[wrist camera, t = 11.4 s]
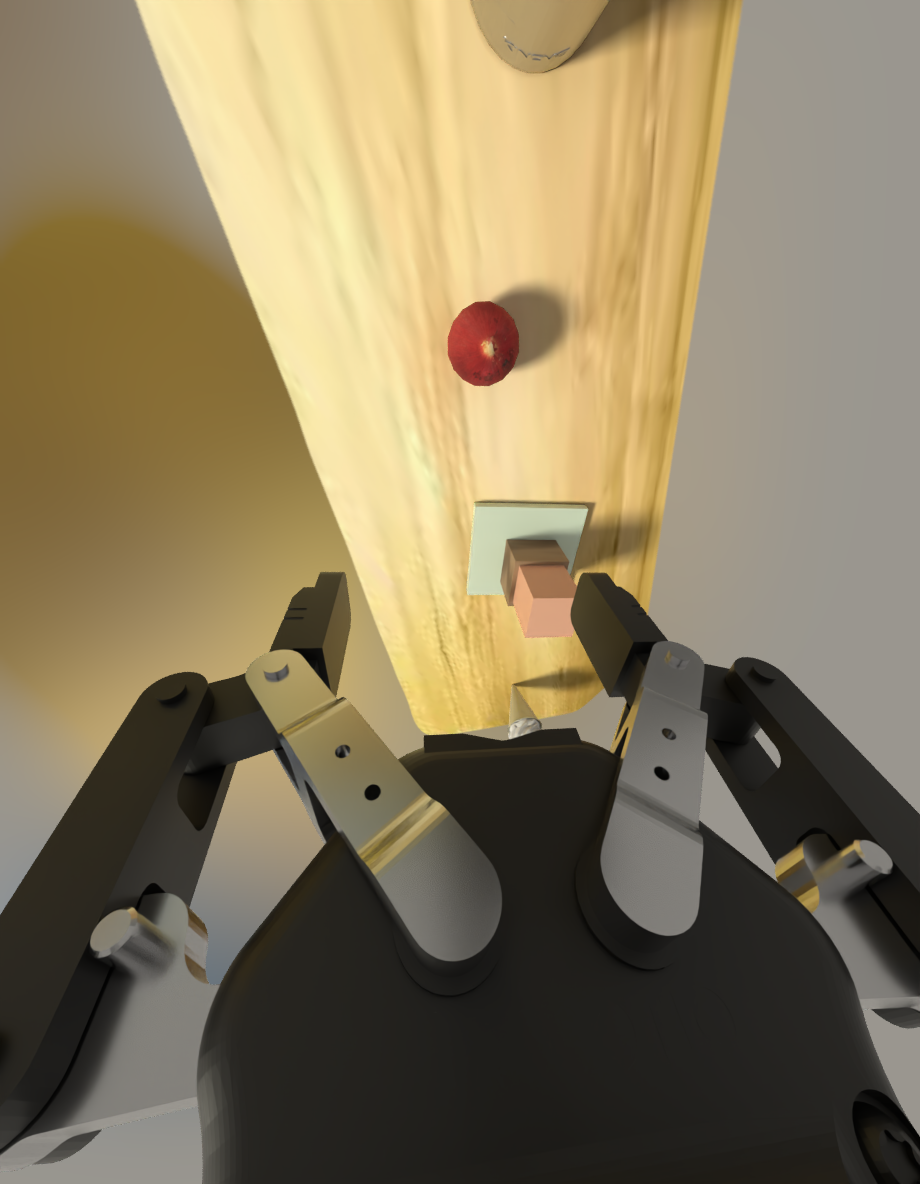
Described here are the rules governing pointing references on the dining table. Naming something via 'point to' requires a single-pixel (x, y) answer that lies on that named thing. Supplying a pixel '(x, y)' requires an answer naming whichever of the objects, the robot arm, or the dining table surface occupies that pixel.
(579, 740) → the robot arm
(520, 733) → the ice cream cone
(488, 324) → the red oval piece
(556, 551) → the walnut block
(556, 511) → the sage board
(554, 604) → the terracotta block
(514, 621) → the dining table surface
